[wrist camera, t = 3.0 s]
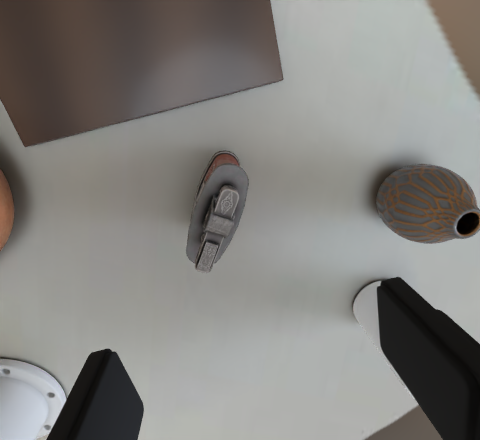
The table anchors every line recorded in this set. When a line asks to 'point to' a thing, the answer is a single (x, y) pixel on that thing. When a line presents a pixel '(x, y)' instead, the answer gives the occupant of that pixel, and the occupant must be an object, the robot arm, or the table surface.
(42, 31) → the walnut board
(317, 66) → the table surface
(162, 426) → the table surface
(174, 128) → the table surface
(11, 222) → the ceramic jug
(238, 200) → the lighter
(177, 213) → the table surface
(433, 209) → the vase
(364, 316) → the can
